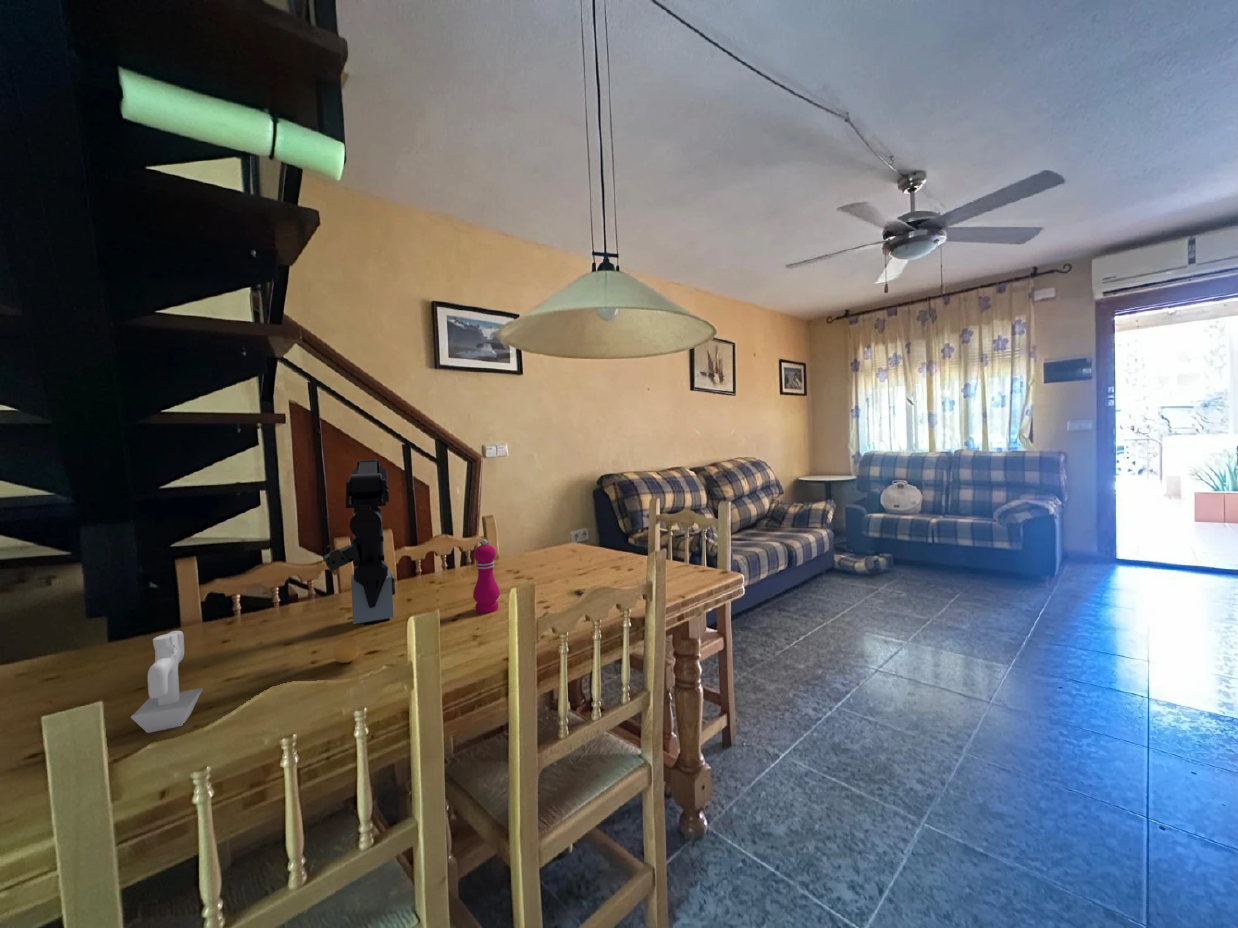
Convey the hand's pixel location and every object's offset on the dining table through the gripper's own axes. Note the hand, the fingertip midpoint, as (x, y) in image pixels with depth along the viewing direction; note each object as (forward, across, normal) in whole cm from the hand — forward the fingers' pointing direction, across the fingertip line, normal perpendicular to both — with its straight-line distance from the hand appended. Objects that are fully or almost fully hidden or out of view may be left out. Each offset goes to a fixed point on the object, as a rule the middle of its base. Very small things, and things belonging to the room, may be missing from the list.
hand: (371, 602), depth 109 cm
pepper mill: (+12, -20, +29) cm, 37 cm away
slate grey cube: (+3, 0, 0) cm, 3 cm away
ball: (+10, 0, -5) cm, 11 cm away
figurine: (+12, +12, -31) cm, 36 cm away
